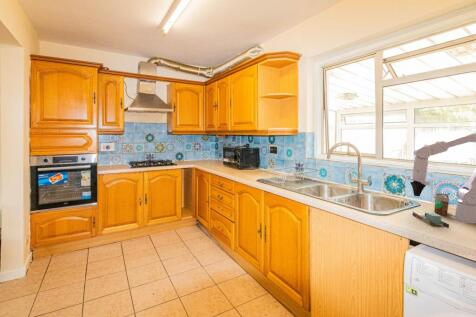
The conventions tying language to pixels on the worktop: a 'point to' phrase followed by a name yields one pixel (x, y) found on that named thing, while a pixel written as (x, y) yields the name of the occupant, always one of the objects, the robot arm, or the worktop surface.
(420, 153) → the robot arm
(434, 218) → the teal block
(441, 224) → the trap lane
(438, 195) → the food container
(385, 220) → the worktop surface
